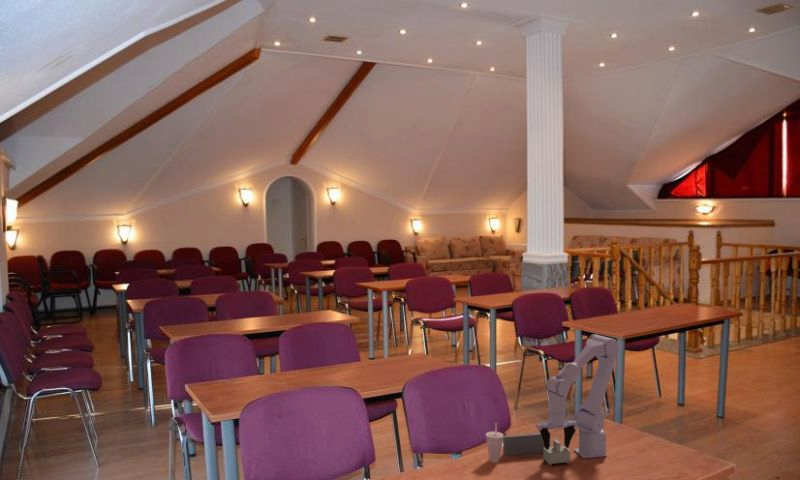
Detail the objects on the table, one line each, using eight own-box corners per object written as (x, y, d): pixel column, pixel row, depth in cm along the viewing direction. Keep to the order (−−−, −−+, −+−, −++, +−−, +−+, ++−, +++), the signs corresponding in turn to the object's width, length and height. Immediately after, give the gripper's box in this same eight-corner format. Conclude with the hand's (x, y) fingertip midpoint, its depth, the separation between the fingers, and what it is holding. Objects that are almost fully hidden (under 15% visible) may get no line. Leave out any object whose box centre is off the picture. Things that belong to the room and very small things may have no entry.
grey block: (563, 459, 249) (564, 437, 248) (570, 464, 244) (570, 443, 243) (543, 461, 247) (543, 439, 246) (549, 466, 242) (549, 445, 241)
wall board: (548, 450, 257) (548, 432, 256) (553, 454, 252) (553, 436, 252) (503, 454, 253) (503, 436, 253) (507, 459, 249) (507, 440, 248)
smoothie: (502, 464, 244) (503, 426, 243) (484, 463, 245) (484, 425, 244) (503, 457, 250) (503, 420, 249) (486, 456, 252) (486, 419, 250)
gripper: (542, 416, 238) (542, 453, 239) (581, 412, 241) (580, 450, 242) (534, 409, 245) (534, 446, 246) (572, 406, 248) (571, 442, 249)
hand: (556, 447), depth 245 cm, fingers open, 7 cm apart
